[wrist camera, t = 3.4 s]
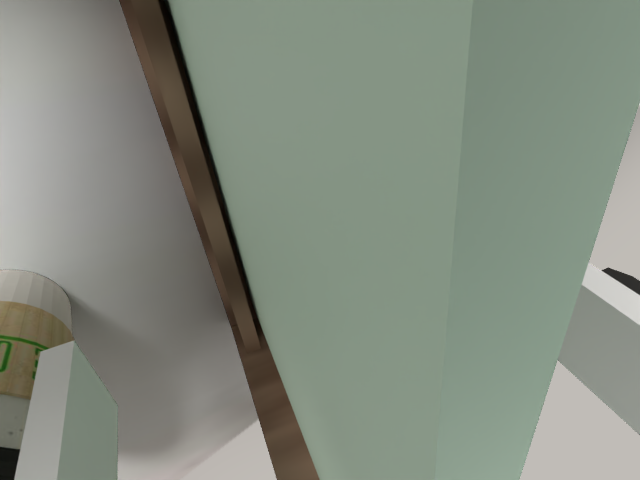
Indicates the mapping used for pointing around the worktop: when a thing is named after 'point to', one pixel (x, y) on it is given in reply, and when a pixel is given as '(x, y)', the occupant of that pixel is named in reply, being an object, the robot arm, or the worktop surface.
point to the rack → (216, 232)
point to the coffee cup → (25, 350)
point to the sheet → (413, 207)
